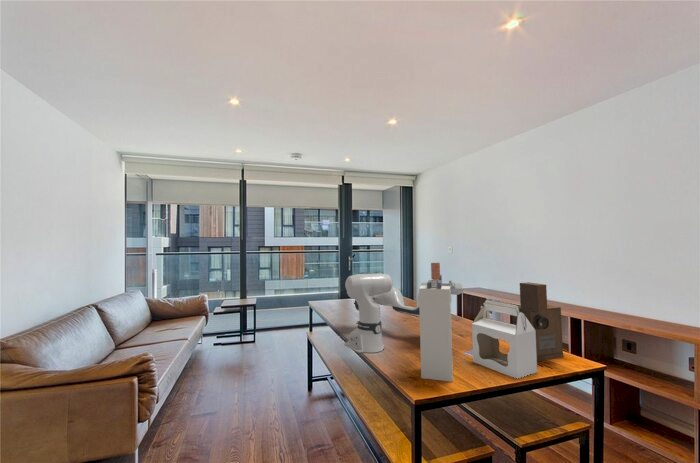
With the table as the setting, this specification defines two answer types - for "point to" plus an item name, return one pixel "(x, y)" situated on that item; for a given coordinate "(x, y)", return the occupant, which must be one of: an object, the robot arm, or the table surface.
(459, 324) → the table surface
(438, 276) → the brown flat block
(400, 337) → the table surface
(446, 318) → the post
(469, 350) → the mobile phone
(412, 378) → the table surface
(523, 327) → the gable box
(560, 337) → the vintage camera
